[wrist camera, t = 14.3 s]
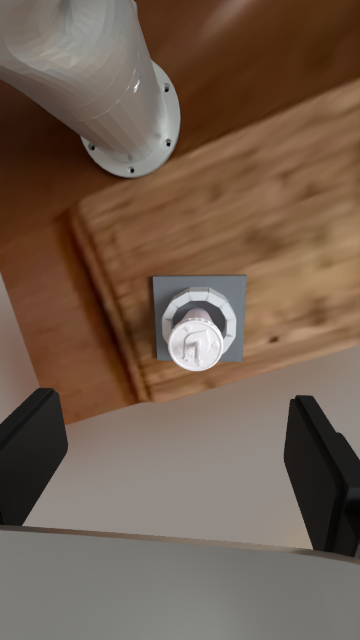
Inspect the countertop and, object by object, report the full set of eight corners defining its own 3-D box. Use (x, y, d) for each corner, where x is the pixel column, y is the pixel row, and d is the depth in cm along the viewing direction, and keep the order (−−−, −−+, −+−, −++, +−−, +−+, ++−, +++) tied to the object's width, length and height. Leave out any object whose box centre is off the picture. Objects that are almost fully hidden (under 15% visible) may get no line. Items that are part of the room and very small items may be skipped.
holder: (154, 275, 40) (148, 280, 36) (245, 274, 39) (250, 279, 35) (158, 357, 44) (154, 369, 40) (241, 358, 43) (244, 371, 39)
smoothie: (228, 313, 40) (240, 356, 26) (204, 347, 42) (204, 403, 28) (190, 290, 39) (182, 322, 26) (167, 326, 41) (150, 372, 28)
